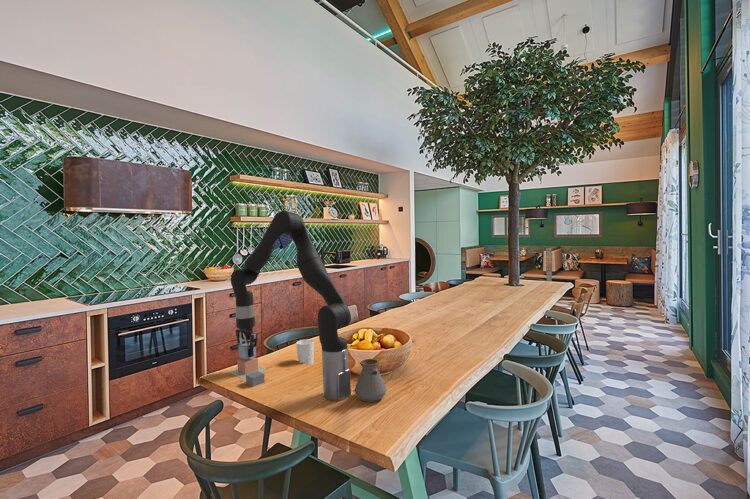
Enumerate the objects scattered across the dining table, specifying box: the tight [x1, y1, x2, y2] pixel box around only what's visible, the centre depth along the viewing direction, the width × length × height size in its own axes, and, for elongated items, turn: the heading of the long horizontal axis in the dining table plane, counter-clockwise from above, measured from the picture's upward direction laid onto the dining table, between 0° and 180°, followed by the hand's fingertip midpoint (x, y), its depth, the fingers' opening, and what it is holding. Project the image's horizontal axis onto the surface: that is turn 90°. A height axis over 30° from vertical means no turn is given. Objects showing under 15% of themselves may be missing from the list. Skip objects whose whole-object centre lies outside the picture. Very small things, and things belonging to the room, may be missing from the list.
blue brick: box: [237, 343, 257, 359], centre depth 156 cm, size 5×5×5 cm
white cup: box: [295, 338, 315, 366], centre depth 167 cm, size 8×8×10 cm
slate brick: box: [245, 371, 266, 388], centre depth 143 cm, size 5×5×5 cm
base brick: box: [236, 356, 259, 375], centre depth 156 cm, size 6×6×5 cm
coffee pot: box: [354, 358, 387, 403], centre depth 126 cm, size 21×12×15 cm, turn 9°
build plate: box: [227, 365, 269, 380], centre depth 156 cm, size 12×12×2 cm
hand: (247, 355), depth 156 cm, fingers closed on blue brick, 5 cm apart
